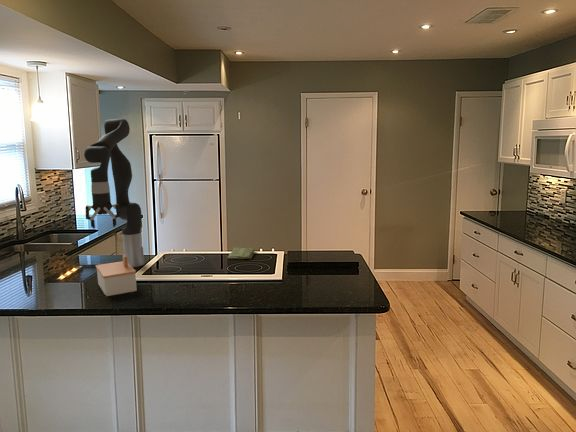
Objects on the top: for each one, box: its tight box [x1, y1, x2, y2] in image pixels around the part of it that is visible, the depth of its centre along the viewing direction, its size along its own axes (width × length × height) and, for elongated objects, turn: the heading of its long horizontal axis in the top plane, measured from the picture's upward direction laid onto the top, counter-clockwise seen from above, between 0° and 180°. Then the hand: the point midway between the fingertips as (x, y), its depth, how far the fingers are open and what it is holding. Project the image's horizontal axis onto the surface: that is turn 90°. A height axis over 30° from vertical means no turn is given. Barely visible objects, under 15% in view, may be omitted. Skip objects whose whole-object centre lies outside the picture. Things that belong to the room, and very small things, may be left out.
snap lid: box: [95, 254, 137, 279], centre depth 220 cm, size 14×21×7 cm, turn 30°
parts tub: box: [96, 269, 138, 297], centre depth 221 cm, size 13×20×8 cm, turn 30°
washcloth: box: [227, 247, 255, 260], centre depth 271 cm, size 13×18×3 cm
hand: (104, 227), depth 221 cm, fingers open, 8 cm apart
